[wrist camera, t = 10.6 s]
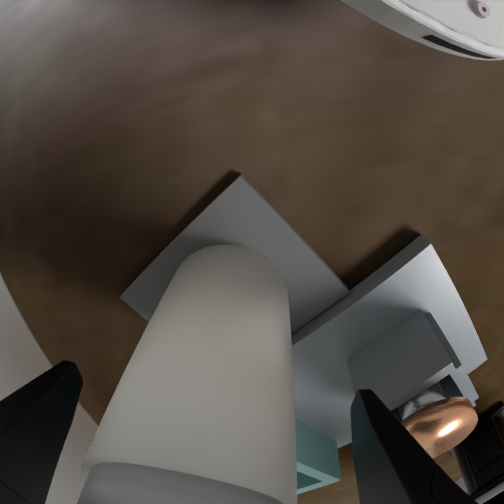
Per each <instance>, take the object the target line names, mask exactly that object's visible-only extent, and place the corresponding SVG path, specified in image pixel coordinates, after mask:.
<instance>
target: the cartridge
mask: <svg viewBox="0 0 504 504" xmlns="http://www.w3.org/2000/svg"><path fill="white" fill-rule="evenodd" d="M82 470H83V472H84V474H85V476H86V477H87V479H86V481H85V484H84V487H83V489H82V492H81V495H80V497H79V500H78V503H77V504H297V463H296V430H295V404H294V382H293V362H292V344H291V328H290V312H289V298H288V289H287V285H286V282H285V279H284V277H283V275H282V274H281V272H280V271H279V269H278V268H277V267H276V266H275V265H274V263H273V262H271V261H270V260H269V259H268V258H267V257H265V256H264V255H262V254H261V253H259V252H257V251H255V250H253V249H250V248H247V247H244V246H239V245H232V244H218V245H212V246H208V247H204V248H202V249H200V250H197V251H196V252H194V253H192V254H191V255H190V256H188V257H187V258H186V259H185V260H184V261H183V262H182V263H181V265H180V266H179V268H178V269H177V271H176V273H175V275H174V276H173V278H172V280H171V282H170V284H169V286H168V288H167V289H166V291H165V293H164V295H163V297H162V299H161V301H160V302H159V304H158V306H157V308H156V310H155V312H154V314H153V316H152V318H151V320H150V321H149V323H148V325H147V327H146V329H145V331H144V333H143V335H142V337H141V339H140V341H139V343H138V345H137V347H136V349H135V351H134V353H133V355H132V357H131V359H130V361H129V363H128V365H127V367H126V369H125V371H124V373H123V375H122V377H121V379H120V382H119V384H118V386H117V388H116V390H115V392H114V394H113V396H112V398H111V401H110V403H109V405H108V407H107V409H106V411H105V414H104V416H103V418H102V420H101V422H100V425H99V427H98V429H97V431H96V434H95V436H94V438H93V441H92V443H91V445H90V448H89V450H88V452H87V454H86V457H85V459H84V462H83V464H82Z"/></svg>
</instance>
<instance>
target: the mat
mask: <svg viewBox="0 0 504 504" xmlns="http://www.w3.org/2000/svg"><path fill="white" fill-rule="evenodd" d="M218 244H232V245H239V246H244V247H247V248H250V249H253V250H255V251H257V252H259V253H261V254H262V255H264V256H265V257H267V258H268V259H269V260H270V261H271V262H273V263H274V265H275V266H276V267H277V268H278V269H279V271H280V272H281V274H282V275H283V277H284V279H285V282H286V285H287V289H288V298H289V312H290V328H291V333H292V332H293V331H295V330H296V329H298V328H299V327H301V326H302V325H304V324H305V323H307V322H308V321H310V320H311V319H313V318H314V317H315V316H317V315H318V314H320V313H321V312H323V311H324V310H325V309H327V308H328V307H330V306H331V305H333V304H334V303H335V302H337V301H338V300H339V299H341V298H342V297H344V296H345V295H346V294H348V293H349V290H348V287H347V286H346V285H345V284H344V283H343V282H342V280H341V279H340V278H339V277H338V276H337V275H336V274H335V273H334V271H333V270H332V269H331V268H330V267H329V266H328V265H327V264H326V263H325V261H324V260H323V259H322V258H321V257H320V256H319V255H318V254H317V253H316V252H315V250H314V249H313V248H312V247H311V246H310V245H309V244H308V243H307V242H306V241H305V240H304V239H303V237H302V236H301V235H300V234H299V233H298V232H297V231H296V230H295V229H294V228H293V227H292V226H291V225H290V224H289V222H288V221H287V220H286V219H285V218H284V217H283V216H282V215H281V214H280V213H279V212H278V211H277V210H276V209H275V208H274V207H273V206H272V205H271V204H270V202H269V201H268V200H267V199H266V198H265V197H264V196H263V195H262V194H261V193H260V192H259V191H258V190H257V189H256V188H255V187H254V186H253V185H252V184H251V183H250V182H249V181H248V180H247V179H246V178H245V177H244V176H243V175H242V174H241V175H240V176H239V177H238V178H236V179H235V180H234V181H233V182H232V183H231V184H230V185H229V186H228V187H227V188H226V189H225V190H224V191H223V192H222V193H221V194H219V195H218V196H217V197H216V198H215V199H214V200H213V201H212V202H211V203H210V204H209V205H208V206H207V207H206V208H205V209H204V210H203V211H202V212H201V213H200V214H199V215H198V216H197V217H196V218H195V219H194V220H193V221H192V222H191V223H190V224H189V225H188V226H187V227H186V228H185V229H184V230H183V231H182V232H181V233H180V234H179V235H178V236H177V237H176V238H175V239H174V240H173V241H172V242H171V243H170V244H169V245H168V246H167V247H166V248H165V249H164V250H163V251H162V252H161V253H160V254H159V255H158V256H157V257H156V258H155V259H154V260H153V261H152V262H151V263H150V264H149V266H148V267H147V268H146V269H145V270H144V271H143V272H142V273H141V274H140V275H139V276H138V277H137V278H136V279H135V280H134V281H133V283H132V284H131V285H130V286H129V287H128V288H127V289H126V290H125V291H124V292H123V293H122V295H121V296H120V298H121V299H122V300H123V301H124V302H125V303H127V304H128V305H129V306H130V307H131V308H132V309H134V310H135V311H136V312H137V313H138V314H139V315H141V316H142V317H143V318H144V319H145V320H147V321H148V322H149V321H150V320H151V318H152V316H153V314H154V312H155V310H156V308H157V306H158V304H159V302H160V301H161V299H162V297H163V295H164V293H165V291H166V289H167V288H168V286H169V284H170V282H171V280H172V278H173V276H174V275H175V273H176V271H177V269H178V268H179V266H180V265H181V263H182V262H183V261H184V260H185V259H186V258H187V257H188V256H190V255H191V254H192V253H194V252H196V251H197V250H200V249H202V248H204V247H208V246H212V245H218Z"/></svg>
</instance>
